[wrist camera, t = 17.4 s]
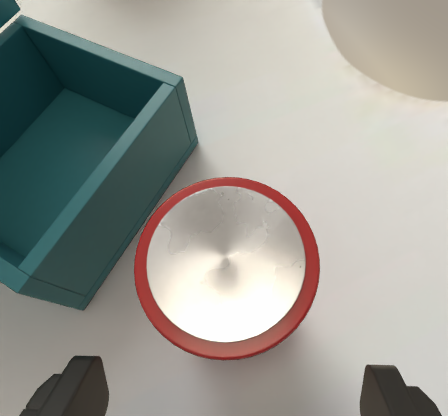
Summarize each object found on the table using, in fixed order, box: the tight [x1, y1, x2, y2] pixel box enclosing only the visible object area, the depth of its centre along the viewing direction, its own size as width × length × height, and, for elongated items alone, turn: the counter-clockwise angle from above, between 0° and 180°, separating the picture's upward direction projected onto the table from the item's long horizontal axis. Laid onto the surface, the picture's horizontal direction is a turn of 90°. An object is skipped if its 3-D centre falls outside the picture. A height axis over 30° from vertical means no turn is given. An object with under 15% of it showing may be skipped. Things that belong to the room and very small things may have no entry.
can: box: [134, 177, 320, 360], centre depth 16 cm, size 6×6×11 cm
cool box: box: [0, 15, 198, 310], centre depth 23 cm, size 14×15×7 cm
